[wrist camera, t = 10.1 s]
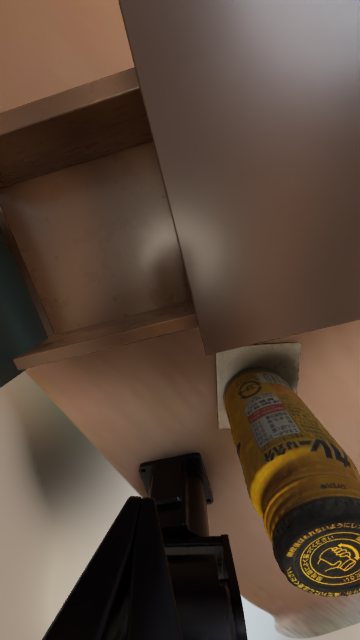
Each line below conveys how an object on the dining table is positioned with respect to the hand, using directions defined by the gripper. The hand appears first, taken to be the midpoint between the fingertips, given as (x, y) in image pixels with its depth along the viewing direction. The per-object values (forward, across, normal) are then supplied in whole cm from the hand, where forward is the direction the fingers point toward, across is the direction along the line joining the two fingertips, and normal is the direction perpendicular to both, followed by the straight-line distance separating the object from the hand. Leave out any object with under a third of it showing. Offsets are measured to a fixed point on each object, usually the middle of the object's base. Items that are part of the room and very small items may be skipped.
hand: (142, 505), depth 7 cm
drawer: (+12, +8, -8) cm, 16 cm away
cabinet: (+13, -8, -13) cm, 20 cm away
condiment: (+13, -8, +3) cm, 16 cm away
